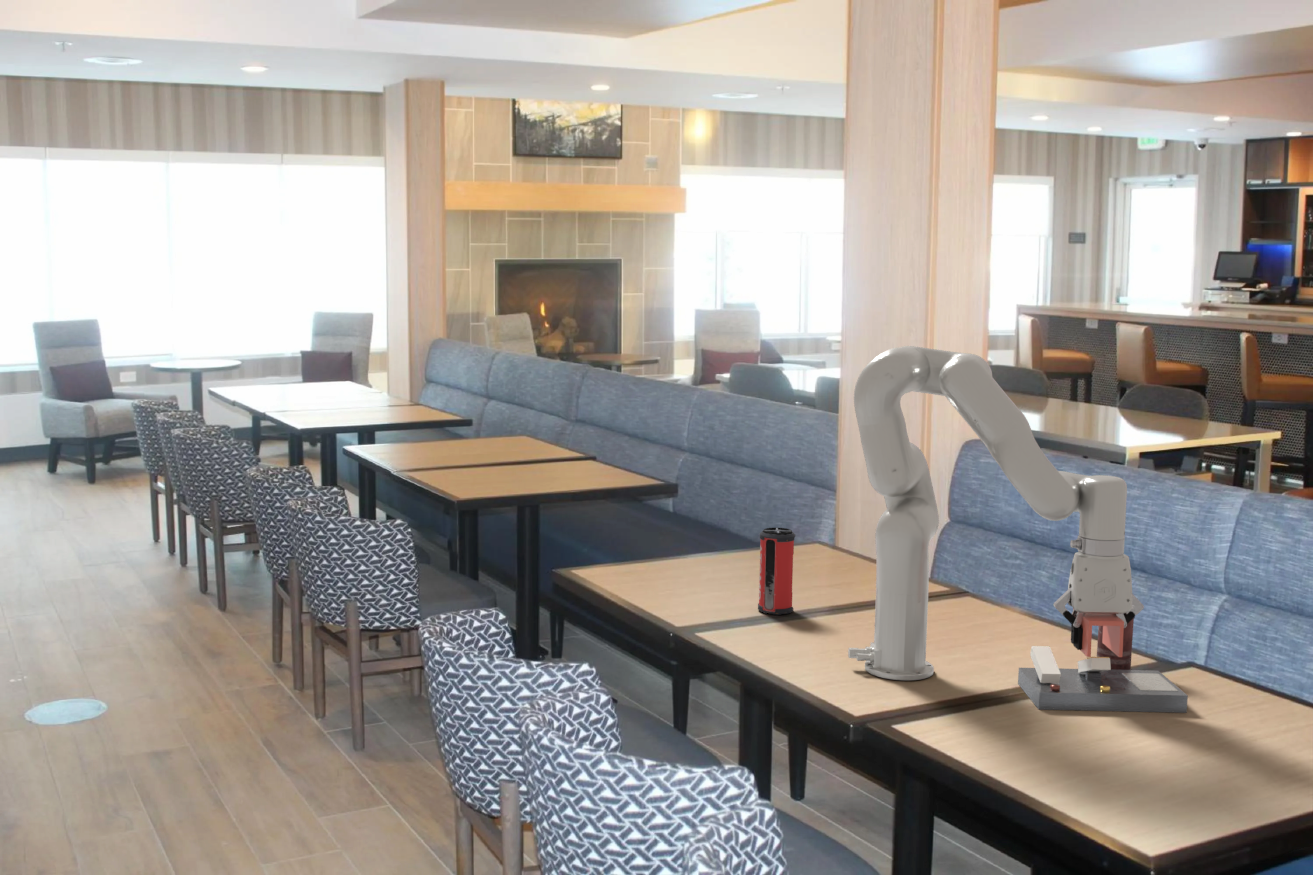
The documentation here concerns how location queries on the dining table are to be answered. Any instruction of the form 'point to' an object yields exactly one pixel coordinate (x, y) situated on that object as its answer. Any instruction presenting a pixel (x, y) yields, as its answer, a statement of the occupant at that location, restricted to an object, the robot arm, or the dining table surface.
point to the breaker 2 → (1094, 664)
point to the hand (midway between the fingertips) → (1096, 646)
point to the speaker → (776, 571)
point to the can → (1115, 661)
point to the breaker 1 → (1045, 664)
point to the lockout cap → (1111, 632)
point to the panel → (1104, 691)
